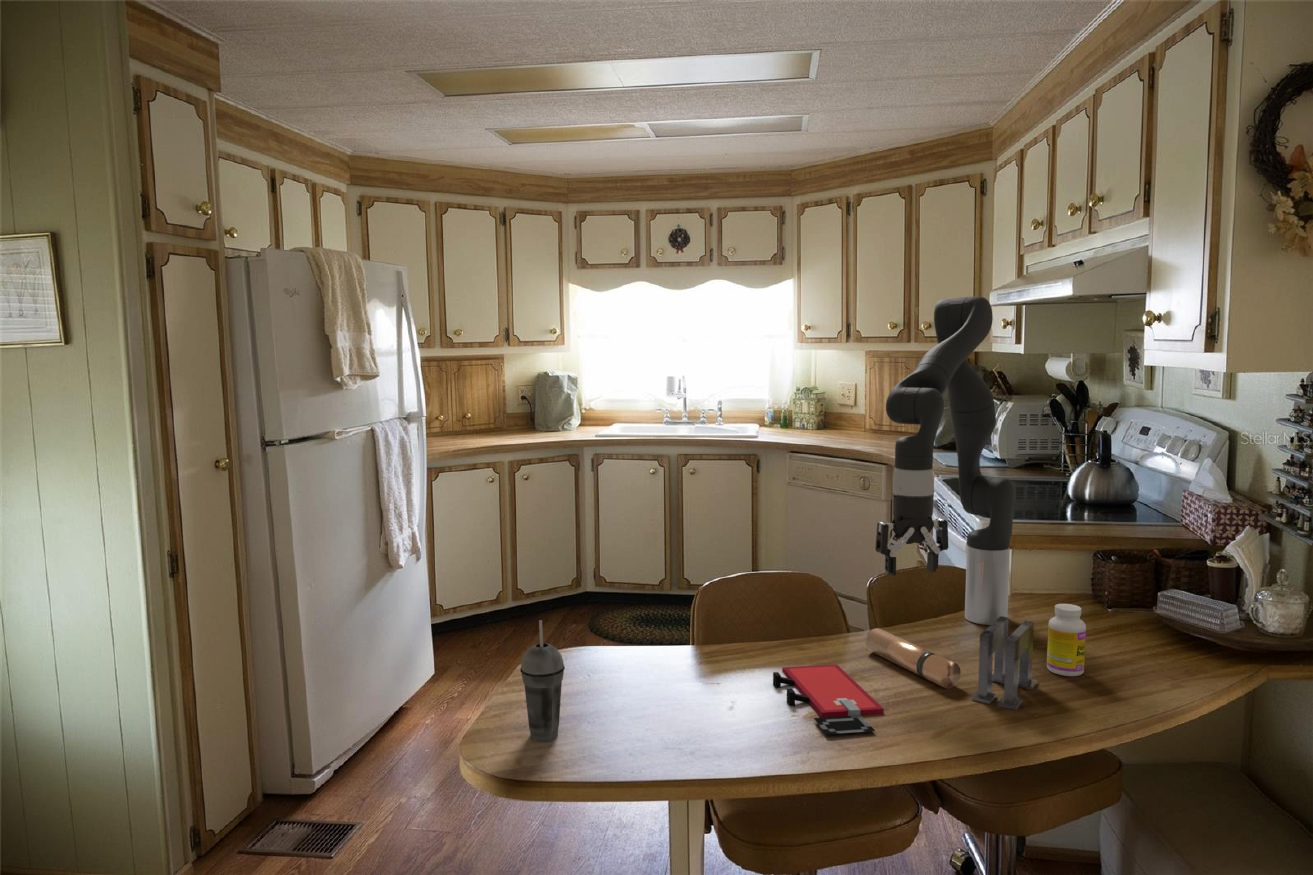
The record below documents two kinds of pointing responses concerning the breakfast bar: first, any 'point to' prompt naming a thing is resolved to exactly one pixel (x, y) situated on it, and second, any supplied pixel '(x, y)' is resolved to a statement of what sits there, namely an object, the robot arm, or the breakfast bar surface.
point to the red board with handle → (830, 697)
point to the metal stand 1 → (991, 659)
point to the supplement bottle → (1066, 641)
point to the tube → (913, 658)
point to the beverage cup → (543, 688)
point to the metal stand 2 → (1015, 648)
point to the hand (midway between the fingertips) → (911, 573)
